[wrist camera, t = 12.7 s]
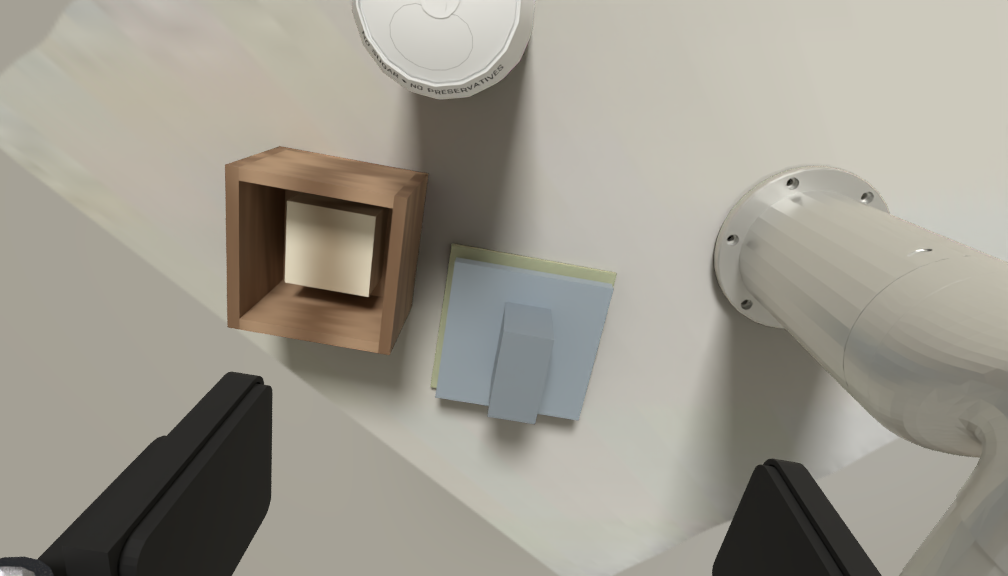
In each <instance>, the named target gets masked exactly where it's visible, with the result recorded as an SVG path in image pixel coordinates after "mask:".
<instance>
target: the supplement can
mask: <svg viewBox="0 0 1008 576" xmlns="http://www.w3.org/2000/svg"><path fill="white" fill-rule="evenodd" d="M534 10H535V0H352V13H353V16H354V19H355V22H356V25H357V28H358V31H359V34H360V37H361V40H362V43H363V45H364V47H365V48H366V50H367V51H368V52H369V54H370V55H371V56H372V58H373V59H374V61H375V62H376V63H377V65H378V66H379V67H380V69H381V70H382V72H383V73H385V74H386V75H387V76H389V77H390V78H392V79H393V80H394V81H396V82H397V83H399V84H400V85H401V86H403V87H404V88H405V89H407V90H408V91H410V92H414V93H417V94H421V95H424V96H428V97H431V98H435V99H438V100H442V99H453V98H464V97H470V96H472V95H474V94H476V93H478V92H480V91H482V90H484V89H486V88H488V87H490V86H492V85H494V84H496V83H498V82H499V81H501V80H502V79H503V78H505V77H506V76H507V75H508V73H509V72H510V71H511V70H512V69H513V68H514V67H515V66H516V65H517V64H518V63H519V62H520V60H521V58H522V56H523V53H524V51H525V49H526V47H527V44H528V42H529V40H530V36H531V33H532V29H533V21H534Z"/></svg>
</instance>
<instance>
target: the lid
mask: <svg viewBox="0 0 1008 576" xmlns="http://www.w3.org/2000/svg"><path fill="white" fill-rule="evenodd" d="M612 293H613V286H612V284H609V283H604V282H598V281H592V280H586V279H580V278H574V277H569V276H563V275H557V274H551V273H545V272H539V271H534V270H528V269H522V268H516V267H510V266H504V265H499V264H493V263H487V262H481V261H475V260H469V259H464V258H458V257H456V260H455V264H454V271H453V278H452V285H451V292H450V299H449V306H448V313H447V320H446V327H445V333H444V340H443V347H442V354H441V361H440V368H439V375H438V382H437V389H436V396H435V397H437V398H443V399H449V400H455V401H461V402H468V403H474V404H480V405H486V406H488V415H487V417H493V418H499V419H505V420H512V421H518V422H524V423H530V424H535V422H536V418H537V414H541V415H548V416H554V417H560V418H566V419H572V420H579V416H580V413H581V409H582V405H583V401H584V398H585V394H586V390H587V386H588V383H589V379H590V375H591V371H592V368H593V364H594V360H595V356H596V353H597V349H598V345H599V341H600V338H601V334H602V330H603V327H604V323H605V319H606V315H607V312H608V308H609V304H610V300H611V297H612Z"/></svg>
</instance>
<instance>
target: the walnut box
mask: <svg viewBox="0 0 1008 576" xmlns="http://www.w3.org/2000/svg"><path fill="white" fill-rule="evenodd" d="M427 181H428V174H427V173H422V172H416V171H411V170H405V169H400V168H395V167H389V166H384V165H378V164H373V163H367V162H362V161H357V160H351V159H346V158H340V157H335V156H330V155H324V154H319V153H313V152H308V151H302V150H297V149H292V148H286V147H281V146H279V147H276V148H274V149H271V150H268V151H265V152H262V153H259V154H256V155H253V156H250V157H247V158H244V159H241V160H238V161H235V162H232V163H229V164H226V165H225V187H226V253H227V319H228V327H229V328H235V329H241V330H246V331H252V332H258V333H264V334H270V335H276V336H281V337H287V338H293V339H299V340H305V341H311V342H316V343H322V344H328V345H334V346H340V347H345V348H351V349H357V350H363V351H369V352H375V353H380V354H386V355H390V353H391V351H392V349H393V347H394V344H395V342H396V340H397V338H398V336H399V334H400V331H401V329H402V327H403V325H404V323H405V320H406V318H407V316H408V314H409V312H410V310H411V307H412V300H413V292H414V284H415V276H416V268H417V260H418V253H419V245H420V237H421V229H422V221H423V213H424V205H425V197H426V189H427Z"/></svg>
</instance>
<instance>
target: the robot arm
mask: <svg viewBox="0 0 1008 576" xmlns="http://www.w3.org/2000/svg"><path fill="white" fill-rule="evenodd" d="M789 179H790V183H789V184H787V181H788V180H789ZM786 184H787V185H786ZM862 195H863V196H862ZM861 196H862V197H861ZM730 235H732V237H731V239H729V240H727V238H728V237H729V236H730ZM714 266H715V272H716V277H717V281H718V283H719V285H720V288H721V290H722V292H723V294H724V295H725V296H726V298H727V299H728V300H729V302H730V303H731V304H732V305H733V306H734V307H735V308H736V309H737V310H738V311H739V312H740V313H741V314H743V315H744V316H746V317H747V318H749V319H750V320H752V321H754V322H757V323H759V324H762V325H765V326H769V327H774V328H780V329H786V330H787V331H788V332H789V333H790V334H791V335H792V336H793V337H794V338H795V339H796V340H797V341H798V342H799V343H800V344H801V345H802V346H803V347H804V348H805V349H806V350H807V351H808V352H809V354H810V355H811V356H812V357H813V358H814V359H815V360H816V361H817V362H818V363H819V364H820V365H821V366H822V367H823V368H824V369H825V370H826V371H827V372H828V373H829V374H830V375H831V376H832V377H833V378H834V379H835V380H836V381H837V382H838V383H839V384H840V385H841V386H842V387H843V388H844V389H845V390H846V391H847V392H848V393H849V394H850V395H851V396H852V397H853V398H854V399H855V400H856V401H857V402H858V403H859V404H860V405H861V406H862V407H863V408H864V409H865V410H866V411H867V412H868V413H869V414H870V415H871V416H872V417H873V418H875V419H876V420H877V421H878V422H879V423H880V424H881V425H883V426H884V427H885V428H887V429H888V430H889V431H891V432H893V433H894V434H896V435H897V436H899V437H901V438H903V439H905V440H907V441H909V442H911V443H914V444H916V445H919V446H921V447H924V448H927V449H931V450H934V451H939V452H943V453H948V454H953V455H959V456H967V457H978V458H980V459H979V461H978V464H977V466H976V467H975V469H974V470H973V472H972V473H971V475H970V476H969V478H968V479H967V481H966V482H965V484H964V485H963V486H962V488H961V489H960V490H959V492H958V493H957V496H956V499H955V500H954V502H953V503H952V504H951V506H950V507H949V508H948V510H947V511H946V512H945V514H944V515H943V516H942V518H941V519H940V520H939V522H938V523H937V524H936V526H935V527H934V528H933V530H932V531H931V532H930V534H929V535H928V536H927V538H926V539H925V540H924V542H923V543H922V544H921V546H920V547H919V548H918V550H917V551H916V552H915V554H914V555H913V556H912V558H911V559H910V560H909V562H908V563H907V564H906V566H905V567H904V568H903V571H902V572H901V574H900V575H899V576H1008V262H1005V261H1003V260H1000V259H998V258H995V257H993V256H991V255H988V254H986V253H983V252H981V251H978V250H976V249H973V248H971V247H969V246H966V245H964V244H961V243H959V242H956V241H954V240H952V239H949V238H947V237H944V236H942V235H939V234H937V233H934V232H932V231H930V230H927V229H925V228H922V227H920V226H917V225H915V224H912V223H910V222H908V221H905V220H903V219H900V218H898V217H895V216H893V215H890V212H889V210H888V207H887V204H886V203H885V201H884V199H883V198H882V196H881V195H880V193H879V192H878V191H877V190H876V189H875V188H874V187H873V186H872V185H871V184H870V183H868V182H867V181H866V180H864V179H862V178H860V177H859V176H857V175H855V174H853V173H850V172H847V171H844V170H841V169H837V168H832V167H827V166H805V167H800V168H795V169H790V170H787V171H784V172H782V173H779V174H776V175H774V176H772V177H770V178H768V179H766V180H765V181H763V182H761V183H760V184H758V185H756V186H755V187H754V188H753V189H752V190H750V191H749V192H748V193H747V194H745V195H744V196H743V197H742V198H741V199H740V201H739V202H738V203H737V204H736V205H735V206H734V207H733V209H732V210H731V211H730V213H729V215H728V216H727V218H726V220H725V221H724V223H723V225H722V227H721V230H720V233H719V235H718V238H717V242H716V247H715V253H714ZM744 300H745V301H744ZM743 301H744V302H743ZM742 302H743V303H742ZM271 454H272V388H271V386H268V385H264V381H263V378H262V377H261V376H255V375H249V374H242V373H236V372H228V373H227V374H225V375H224V376H223V377H222V379H220V381H219V382H218V383H217V384H216V385H215V386H214V387H213V388H212V389H211V390H210V391H209V392H208V393H207V394H206V395H205V396H204V397H203V398H202V399H201V400H200V402H199V403H198V404H197V405H196V406H195V407H194V408H193V409H192V410H191V411H190V412H189V413H188V414H187V415H186V416H185V417H184V418H183V419H182V420H181V422H180V423H179V424H178V425H177V426H176V427H175V428H174V429H173V430H172V431H171V432H170V433H169V434H168V435H167V436H162V437H159V438H157V439H156V440H154V441H153V442H152V443H151V444H150V445H149V446H148V447H147V448H146V449H145V450H144V451H143V452H142V453H141V454H140V455H139V456H138V457H137V458H136V459H135V460H134V461H133V462H132V463H131V464H130V465H129V466H128V467H127V468H126V469H125V470H124V471H123V472H122V473H121V474H120V475H119V476H118V477H117V479H115V480H114V481H113V483H111V485H110V486H108V488H107V489H106V490H105V491H104V492H103V493H102V494H101V495H100V496H99V497H98V498H97V499H96V500H95V501H94V502H93V503H92V504H91V505H90V506H89V507H88V508H87V509H86V510H85V511H84V512H83V513H82V514H81V515H80V516H79V517H78V518H77V519H76V520H75V521H74V522H73V523H72V525H70V526H69V527H68V528H67V530H66V531H65V532H64V533H63V534H62V535H61V536H60V537H59V538H58V539H57V540H56V541H55V542H54V543H53V544H52V545H51V546H50V547H49V548H48V549H47V550H46V551H45V552H44V553H43V554H42V555H41V556H40V557H39V558H38V559H32V558H28V557H4V558H0V576H232V574H233V572H234V571H235V569H236V567H237V565H238V564H239V562H240V560H241V558H242V556H243V555H244V553H245V551H246V549H247V548H248V546H249V544H250V542H251V540H252V539H253V537H254V535H255V534H256V532H257V530H258V528H259V526H260V525H261V523H262V521H263V519H264V518H265V516H266V514H267V511H268V508H269V505H270V500H271V464H272V463H271V459H272V455H271ZM712 576H881V574H880V573H879V571H878V570H877V568H876V567H875V566H874V564H873V563H872V561H871V560H870V559H869V557H868V556H867V554H866V553H865V552H864V550H863V549H862V547H861V546H860V544H859V543H858V541H857V540H856V539H855V537H854V536H853V534H852V533H851V531H850V530H849V529H848V527H847V526H846V524H845V523H844V521H843V520H842V519H841V517H840V516H839V514H838V513H837V512H836V510H835V509H834V507H833V506H832V505H831V503H830V502H829V500H828V499H827V497H826V496H825V495H824V493H823V492H822V490H821V489H820V487H819V486H818V485H817V483H816V482H815V480H814V479H813V477H812V476H811V475H810V473H809V472H808V470H807V469H806V468H805V467H804V466H803V465H802V464H800V463H796V462H789V461H783V460H777V459H768V460H767V461H766V462H765V463H764V464H763V465H758V466H757V467H756V468H755V470H754V471H753V474H752V476H751V478H750V481H749V483H748V485H747V488H746V490H745V492H744V495H743V497H742V499H741V502H740V504H739V506H738V508H737V511H736V513H735V515H734V518H733V520H732V522H731V525H730V527H729V530H728V532H727V534H726V536H725V539H724V541H723V543H722V546H721V548H720V550H719V552H718V555H717V557H716V559H715V562H714V565H713V570H712Z"/></svg>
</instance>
